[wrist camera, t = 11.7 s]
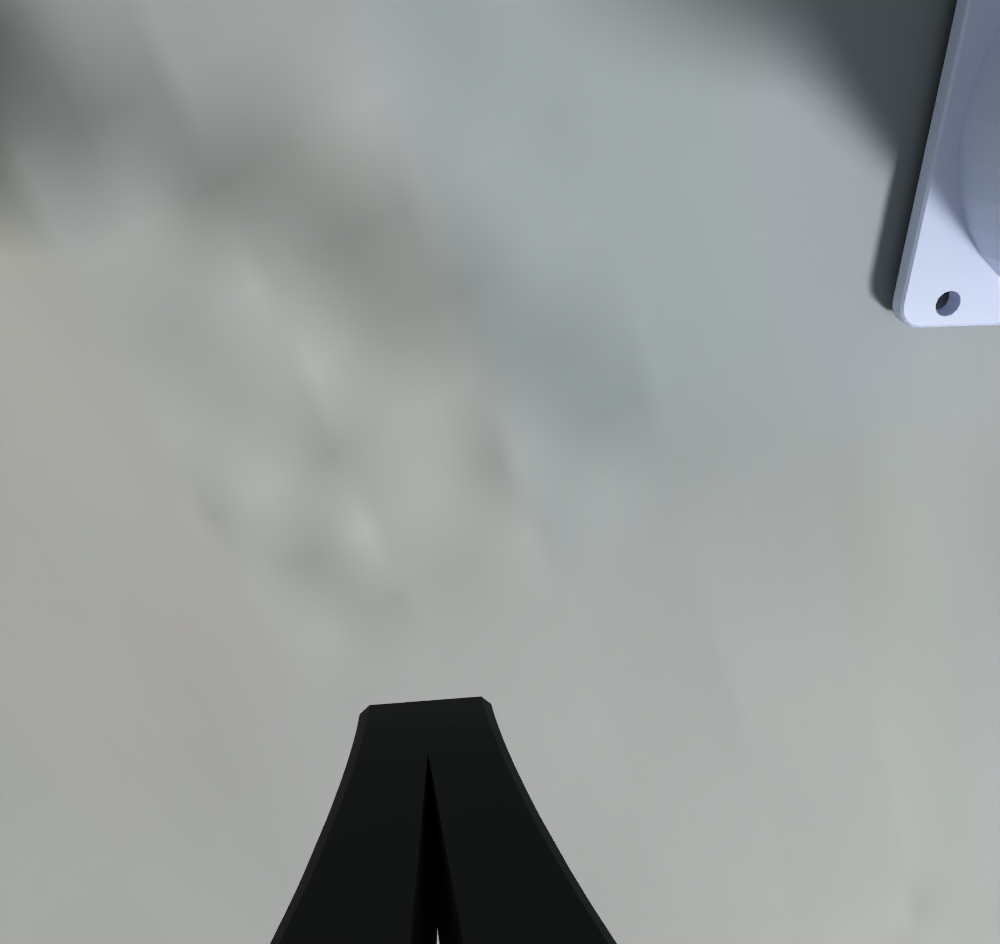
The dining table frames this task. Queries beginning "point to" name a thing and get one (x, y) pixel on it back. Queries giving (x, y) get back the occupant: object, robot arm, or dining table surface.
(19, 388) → the dining table surface
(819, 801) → the dining table surface
